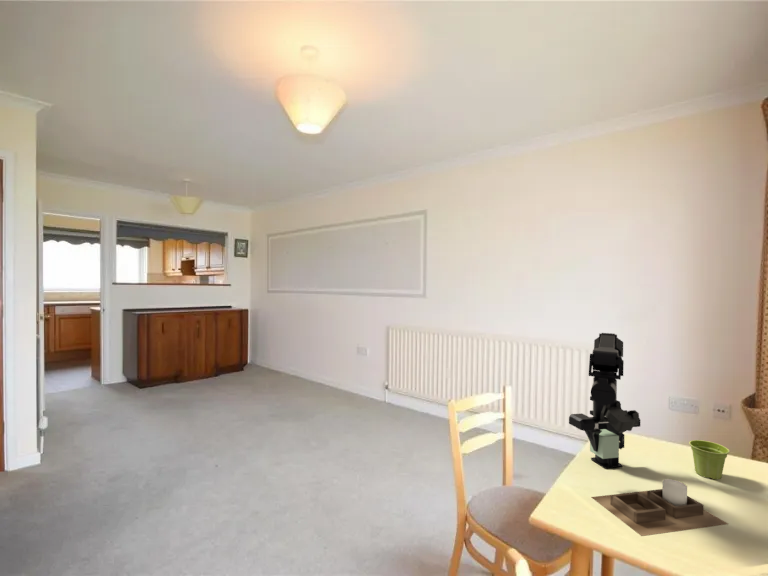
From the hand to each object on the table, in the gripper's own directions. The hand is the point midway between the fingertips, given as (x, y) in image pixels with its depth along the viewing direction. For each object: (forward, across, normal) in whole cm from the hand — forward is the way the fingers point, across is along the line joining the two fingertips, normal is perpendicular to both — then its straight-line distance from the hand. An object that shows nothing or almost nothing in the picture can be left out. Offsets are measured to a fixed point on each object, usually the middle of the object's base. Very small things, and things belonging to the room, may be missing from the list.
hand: (604, 450), depth 109 cm
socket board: (+11, +4, -13) cm, 17 cm away
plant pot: (+11, +37, +1) cm, 39 cm away
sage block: (+1, 0, 0) cm, 1 cm away
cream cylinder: (+10, +10, -13) cm, 19 cm away
